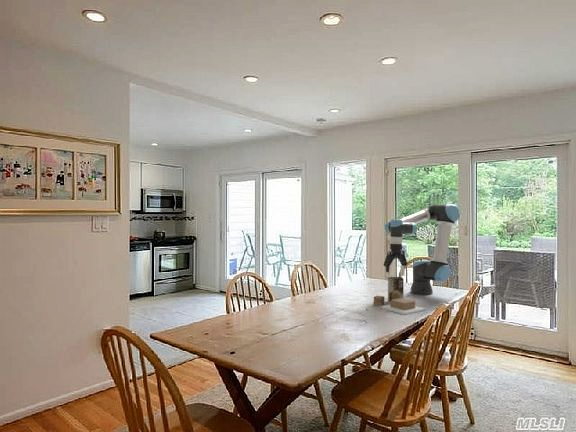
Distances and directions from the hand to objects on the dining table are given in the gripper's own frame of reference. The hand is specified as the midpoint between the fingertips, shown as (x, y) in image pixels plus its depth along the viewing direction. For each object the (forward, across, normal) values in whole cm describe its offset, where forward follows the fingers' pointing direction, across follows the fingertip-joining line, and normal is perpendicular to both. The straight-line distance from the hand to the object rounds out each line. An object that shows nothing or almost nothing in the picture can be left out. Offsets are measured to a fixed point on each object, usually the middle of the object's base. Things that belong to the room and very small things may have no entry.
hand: (395, 276), depth 253 cm
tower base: (+17, +10, +14) cm, 24 cm away
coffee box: (+17, 0, 0) cm, 17 cm away
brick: (+17, +12, -2) cm, 21 cm away
